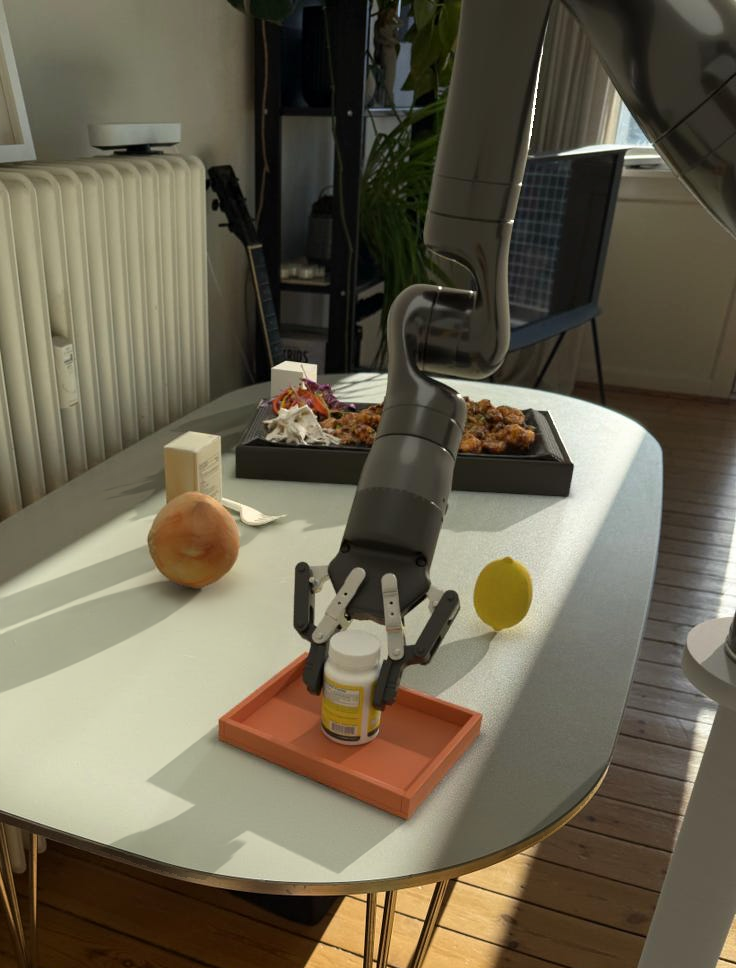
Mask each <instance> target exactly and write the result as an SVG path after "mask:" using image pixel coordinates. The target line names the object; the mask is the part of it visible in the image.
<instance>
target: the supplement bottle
mask: <svg viewBox="0 0 736 968" xmlns="http://www.w3.org/2000/svg"><path fill="white" fill-rule="evenodd" d="M381 647H382V645H381V641H380V639H379V638H378V637H377V636H376V635H375V634H373V633H371V632H368V631H366V630H359V629H346V630H345V631H341V632H338V633H336V634H335V635H333V636H332V638H331V639H330V644H329V652H328V653H329V658H328V659H327V660H326V662H325V664H324V672H323V696H322V723H321V726H322V731H323V733H324V734H325V735H326V736H327V737H328V738H329V739H331V740H332V741H334V742H336V743H339V744H343V745H361V744H364V743H367V742H369V741H371V740H373V739H374V738H375V737H376V736H377V734H378V732H379V724H380V712H381V711H378V710H375V709H374V708H373V707H372V700H373V696H374V693H375V689H376V685H377V682H378V678H379V674H380V670H381V667H382V663H383V661H381Z"/></svg>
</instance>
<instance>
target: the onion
mask: <svg viewBox="0 0 736 968" xmlns="http://www.w3.org/2000/svg"><path fill="white" fill-rule="evenodd" d="M152 521H153V522H152V524H151V526H150V529H149V531H148V534H147V539H146V540H147V547H148V550H149V551H148V552H149V555H150V557H151V560H152V562H153V563H154V565H155V567H156V568H157V570H158V571H159V572H160V574H161V575H162V576H163V577H165V578H166V579H167V580H169V581H171V582H173V583H174V584H177V585H180V586H183V587H187V588H192V589H201V588H204V587H207V586H209V585H212V584H214V583H216V582H217V581H219V580H221V578H223V577H224V576H226V575H227V574H228V573H229V572H230V571H231V570H232V569H233V567H234V565H235V564H236V562H237V560H238V557H239V553H240V547H241V541H240V537H241V536H240V532H239V527H238V525H237V522H236V521H235V519H234V517H233V516H232V514H231V513H230V512H229V510H228V509H227V508H226V507H225V506H223V505H221V504H220V503H219V502H218V501H217V500H215V499H214V498H212V497H210V496H208V495H205V494H202V493H199V492H196V491H190V492H186V493H184V494H182V495H180V496H178V497H176V498H174V499H173V500H171V501H170V502H169V503H168V504H167V503H166V504H165V505H164V506H163V507H162V508H161V509H160V510H159V511H158V512H157V514H156V515H155V517H154V519H153V520H152Z"/></svg>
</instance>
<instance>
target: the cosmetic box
mask: <svg viewBox="0 0 736 968" xmlns="http://www.w3.org/2000/svg"><path fill="white" fill-rule="evenodd" d="M163 462H164V479H165V480H164V481H165V499H166V505H167V504H168V503H169V502H170V501H171V500H173V499H174V498H176V497H178V496H180V495H182V494H184V493H186V492H190V491H196V492H199V493H202V494H205V495H208V496H210V497H212V498H214V499H215V500H217V501H218V502H219V503H220V504H221V505H222V497H223V490H222V489H223V487H222V486H223V483H222V481H223V479H222V477H223V476H222V437H221V435H216V434H210V433H203V432H197V431H191V430H188V431H187V432H185V433H183V434H181V435H180V436H178V437H177V438H175V439H173V440H172V441H170V442H169V443H167V444H165V445H164V446H163ZM222 506H223V505H222Z"/></svg>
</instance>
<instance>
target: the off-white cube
mask: <svg viewBox="0 0 736 968" xmlns="http://www.w3.org/2000/svg"><path fill="white" fill-rule="evenodd" d="M301 364H302V366H303V369H304V371H305V373H304V371H303V369H302V367H301ZM270 371H271V372H270V398H272V397H274V396H276V395H280V394H281V393H282V391H280V390H279V388H281V389H283V390H286V389H288V388H290V384H291V385H293V386H298V387H301V388H302V389H307V388H306V387H305V385H304V382H303V381H301V380H300V379H299V378H306V376H307V378H308V379H310V380H312V381H314V382H316V383H317V379H318V378H317V377H318V364H314V363H305V362H297V361H290V360H285V361H283V362H281V363H279V364H277V365H275V366H273V367H270ZM305 374H306V376H305ZM288 381H289V382H290V384H289V382H288ZM299 383H301V386H299ZM294 388H295V390H296V391H298V388H297V387H294ZM284 397H285V396H284Z"/></svg>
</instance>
